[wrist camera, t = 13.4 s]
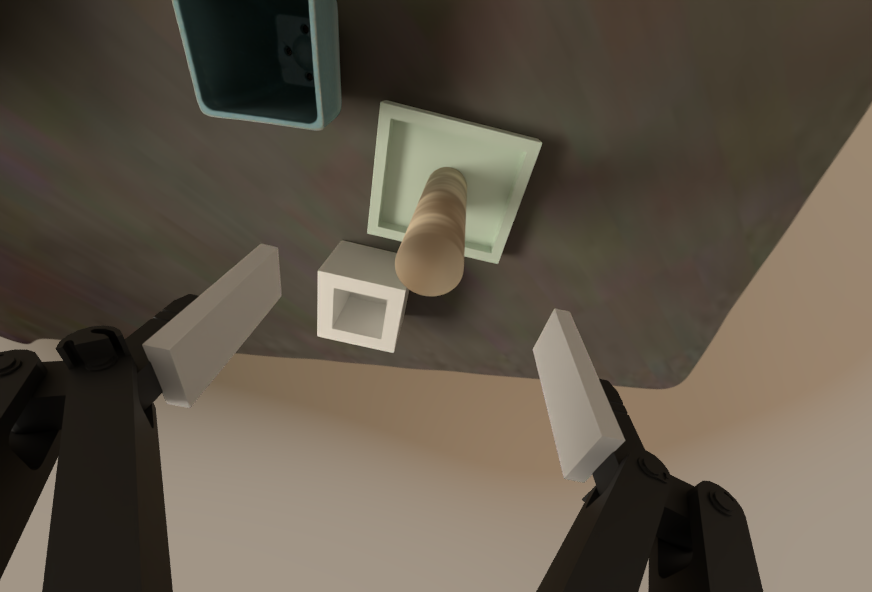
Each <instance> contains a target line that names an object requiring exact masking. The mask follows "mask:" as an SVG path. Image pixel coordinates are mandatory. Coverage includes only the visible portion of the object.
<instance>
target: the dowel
mask: <svg viewBox="0 0 872 592" xmlns="http://www.w3.org/2000/svg"><path fill="white" fill-rule="evenodd" d="M466 204H467V182H466V180H465V178H464V176H463V175H462V173H461V172H459V171H458V170H457V169H454V168H451V167H442V168H439V169H437V170H435V171H434V172H433V173H432V174H431V175H430V177H429V178H428V181H427V183H426V185H425V188H424V190H423V193H422V195H421V197H420V200H419V202H418V204H417V207H416V209H415V212H414V214H413V216H412V219H411V221H410V224H409V226H408V228H407V231H406V233H405V235H404V238H403V240H402V243H401V245H400V247H399V250H398V252H397V255H396V258H395V270H396V273H397V276H398V278H399V280H400V281H401V282H402V284H403V285H404V286H405V287H407V288H408V289H409V290H411V291H413V292H414V293H417V294H420V295H423V296H440V295H443V294H446V293H448V292H450V291H451V290H453V289H454V288H455V287H456V286H457V285H458V284H459V282H460V280H461V278H462V276H463V272H464V252H465V228H466Z"/></svg>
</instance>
